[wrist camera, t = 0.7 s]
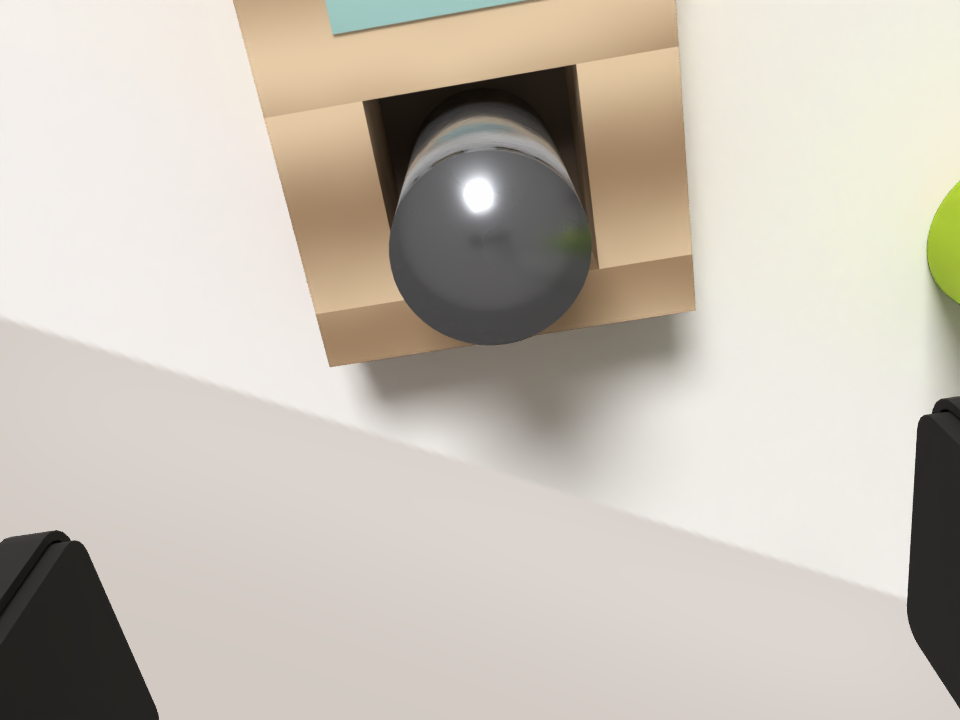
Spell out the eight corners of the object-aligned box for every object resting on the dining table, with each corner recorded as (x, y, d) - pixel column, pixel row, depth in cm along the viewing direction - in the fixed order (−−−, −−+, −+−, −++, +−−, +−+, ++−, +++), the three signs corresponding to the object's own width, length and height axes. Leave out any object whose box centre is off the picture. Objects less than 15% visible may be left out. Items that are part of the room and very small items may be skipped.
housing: (669, 269, 32) (696, 311, 28) (345, 320, 32) (329, 368, 29) (622, -343, 24) (650, -398, 20) (200, -259, 25) (153, -296, 21)
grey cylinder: (562, 217, 31) (601, 329, 22) (427, 239, 31) (410, 358, 22) (544, 76, 29) (579, 134, 20) (400, 100, 29) (369, 169, 20)
